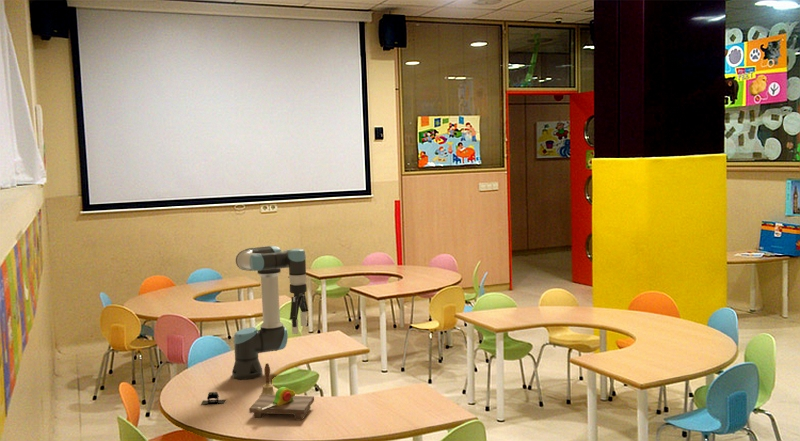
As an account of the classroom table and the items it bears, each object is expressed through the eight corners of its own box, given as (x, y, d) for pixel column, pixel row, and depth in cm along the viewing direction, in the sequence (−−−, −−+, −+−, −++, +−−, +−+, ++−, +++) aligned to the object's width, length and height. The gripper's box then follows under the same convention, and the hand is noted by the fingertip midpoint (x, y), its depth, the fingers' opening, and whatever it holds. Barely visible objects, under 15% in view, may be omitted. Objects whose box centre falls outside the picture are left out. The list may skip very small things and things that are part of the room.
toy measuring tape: (299, 400, 312) (298, 385, 311) (262, 413, 298) (261, 397, 297) (290, 396, 316) (289, 382, 315) (253, 409, 302) (252, 394, 301)
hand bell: (280, 394, 334) (279, 361, 332) (271, 401, 326) (270, 367, 324) (264, 393, 336) (263, 360, 334) (255, 399, 328) (254, 365, 327)
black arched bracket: (197, 407, 321) (196, 397, 321) (200, 401, 329) (199, 391, 329) (226, 405, 323) (226, 395, 322) (229, 399, 330) (228, 389, 330)
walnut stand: (262, 405, 320) (261, 394, 319) (314, 407, 317) (313, 396, 316) (249, 419, 304) (249, 408, 304) (304, 421, 301) (304, 409, 300)
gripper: (297, 278, 333) (299, 322, 336) (281, 289, 309) (283, 337, 311) (313, 278, 332) (314, 322, 335) (298, 289, 308) (300, 337, 310)
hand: (299, 329), depth 323 cm, fingers open, 13 cm apart
